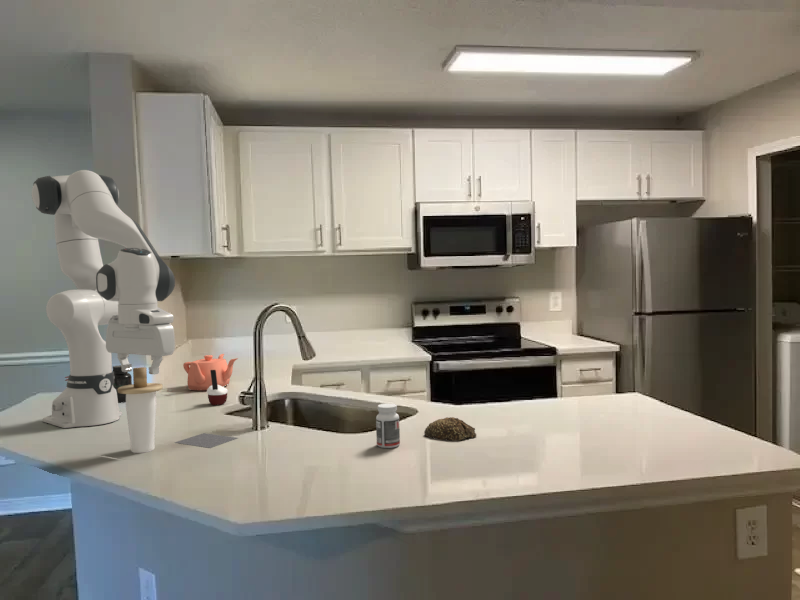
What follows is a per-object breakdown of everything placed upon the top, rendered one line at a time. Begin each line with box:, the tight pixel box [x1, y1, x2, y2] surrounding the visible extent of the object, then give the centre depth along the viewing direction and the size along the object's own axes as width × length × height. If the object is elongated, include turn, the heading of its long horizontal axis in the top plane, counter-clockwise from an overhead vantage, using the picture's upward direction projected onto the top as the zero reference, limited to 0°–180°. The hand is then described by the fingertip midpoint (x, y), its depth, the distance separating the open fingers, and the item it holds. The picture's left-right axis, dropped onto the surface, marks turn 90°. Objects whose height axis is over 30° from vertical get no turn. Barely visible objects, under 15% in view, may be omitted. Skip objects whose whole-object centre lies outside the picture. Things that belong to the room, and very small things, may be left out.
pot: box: [182, 353, 239, 391], centre depth 235 cm, size 18×17×12 cm
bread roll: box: [423, 416, 477, 442], centre depth 162 cm, size 13×12×5 cm
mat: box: [174, 432, 239, 449], centre depth 158 cm, size 12×10×1 cm
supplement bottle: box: [112, 364, 133, 404], centre depth 212 cm, size 7×7×12 cm
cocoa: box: [206, 370, 228, 406], centre depth 204 cm, size 10×6×12 cm, turn 160°
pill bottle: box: [375, 403, 401, 449], centre depth 152 cm, size 6×6×10 cm
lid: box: [118, 366, 163, 394], centre depth 150 cm, size 10×10×5 cm
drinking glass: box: [125, 391, 157, 454], centre depth 150 cm, size 7×7×15 cm
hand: (140, 372), depth 150 cm, fingers open, 8 cm apart
